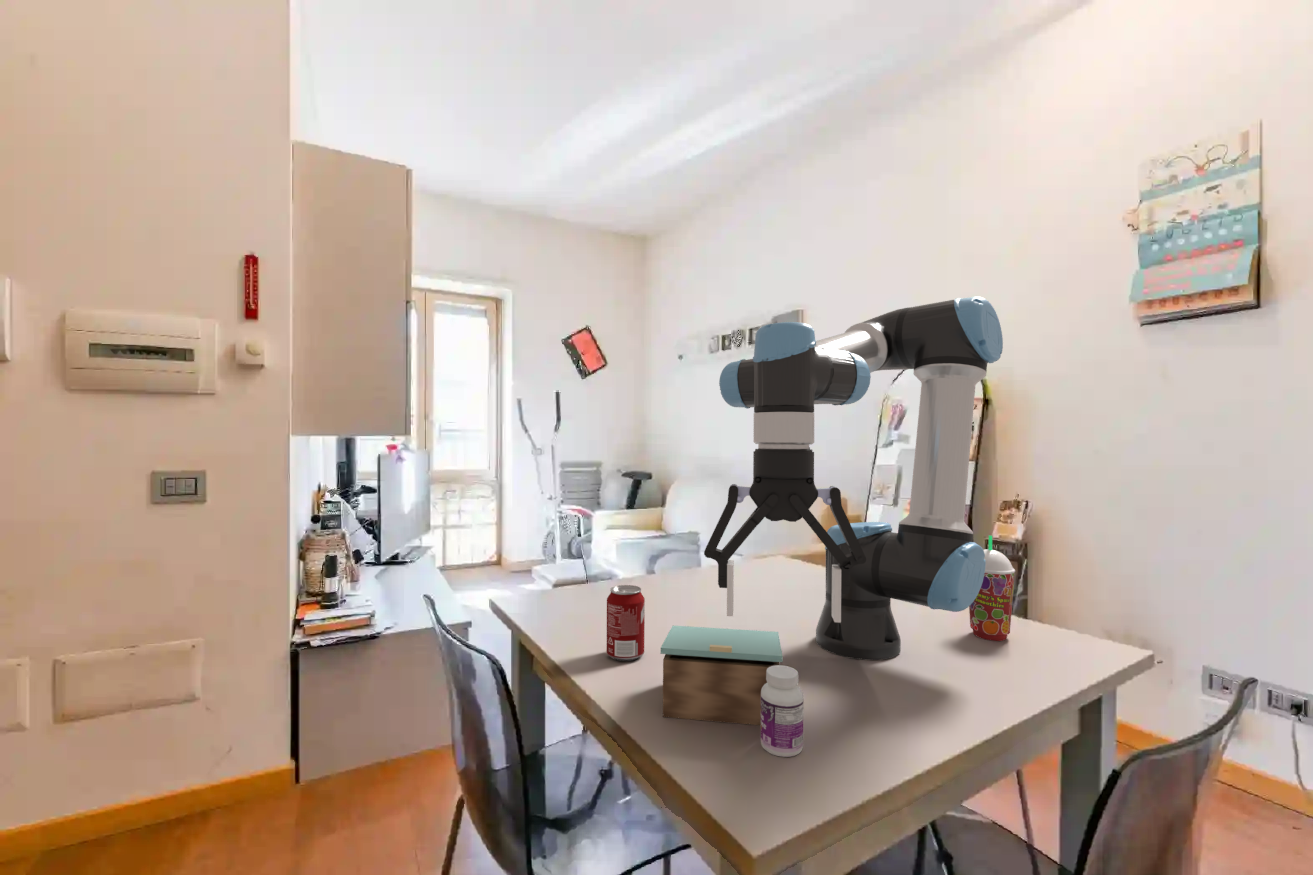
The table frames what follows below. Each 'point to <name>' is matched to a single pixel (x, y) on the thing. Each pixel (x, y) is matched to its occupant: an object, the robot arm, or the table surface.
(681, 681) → the keepsake box
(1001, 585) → the smoothie
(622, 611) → the soda can
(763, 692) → the pill bottle
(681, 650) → the lid
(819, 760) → the table surface
